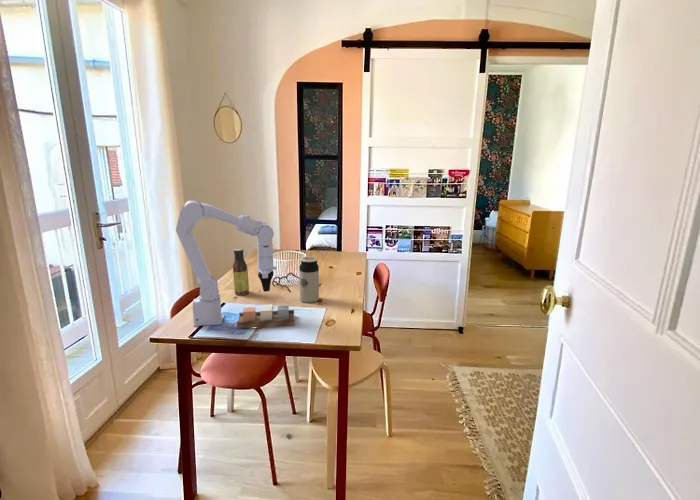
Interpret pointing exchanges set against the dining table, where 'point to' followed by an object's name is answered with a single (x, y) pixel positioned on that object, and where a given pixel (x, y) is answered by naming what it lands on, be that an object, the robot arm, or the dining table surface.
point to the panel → (266, 321)
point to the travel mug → (309, 279)
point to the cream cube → (266, 313)
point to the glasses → (281, 278)
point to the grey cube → (283, 312)
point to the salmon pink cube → (249, 314)
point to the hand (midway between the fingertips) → (266, 290)
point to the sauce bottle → (240, 273)
